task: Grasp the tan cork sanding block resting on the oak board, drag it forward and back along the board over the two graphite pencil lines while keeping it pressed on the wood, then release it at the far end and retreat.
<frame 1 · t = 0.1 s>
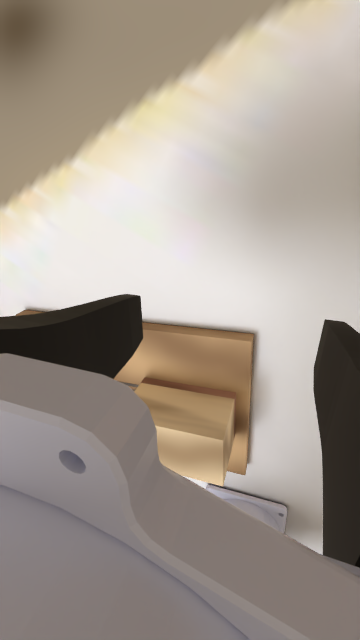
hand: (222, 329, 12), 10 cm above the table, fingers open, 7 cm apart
sanding block: (189, 405, 26), point 1 cm above the table, touching oak board
oak board: (133, 385, 29), on the table
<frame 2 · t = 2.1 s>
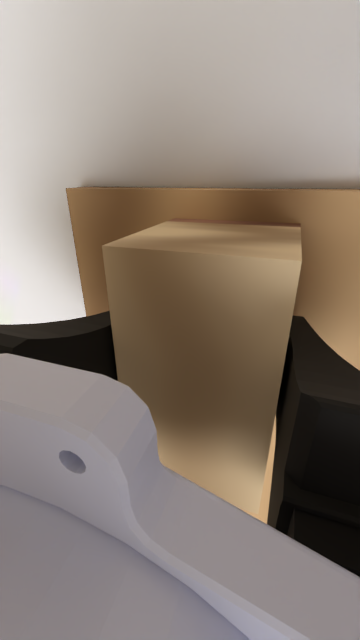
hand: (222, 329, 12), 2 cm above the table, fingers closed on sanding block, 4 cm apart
sanding block: (226, 321, 13), point 1 cm above the table, touching gripper, oak board
oak board: (224, 411, 16), on the table
when the fingers open (2 cm above the table, at t = 10.0 s): sanding block stays where it is, resting on oak board.
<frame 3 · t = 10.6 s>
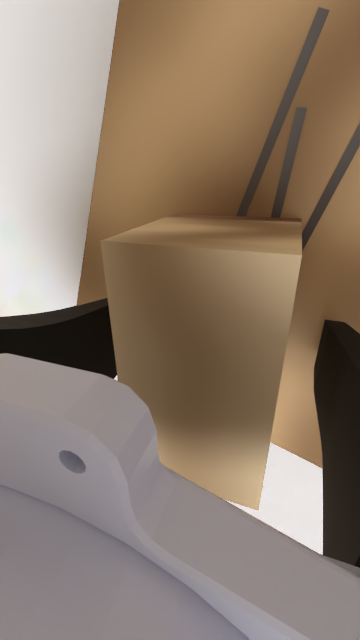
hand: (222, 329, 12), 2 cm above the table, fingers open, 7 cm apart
sanding block: (227, 317, 12), point 1 cm above the table, touching oak board
oak board: (298, 167, 11), on the table
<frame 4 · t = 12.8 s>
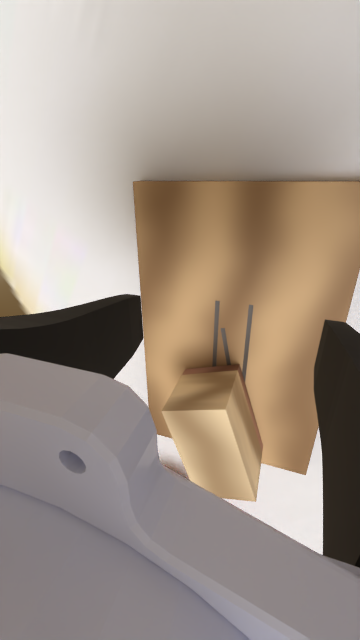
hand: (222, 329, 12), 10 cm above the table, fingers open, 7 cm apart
sanding block: (224, 407, 25), point 1 cm above the table, touching oak board
oak board: (233, 338, 23), on the table
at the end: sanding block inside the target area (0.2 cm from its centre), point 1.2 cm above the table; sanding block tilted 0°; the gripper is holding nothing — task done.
